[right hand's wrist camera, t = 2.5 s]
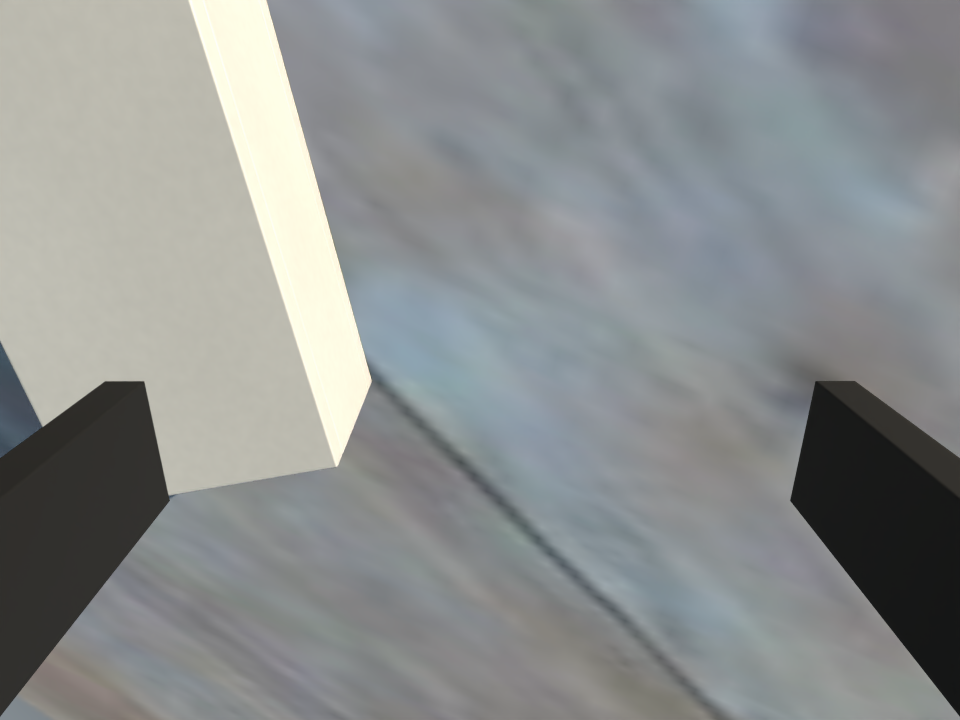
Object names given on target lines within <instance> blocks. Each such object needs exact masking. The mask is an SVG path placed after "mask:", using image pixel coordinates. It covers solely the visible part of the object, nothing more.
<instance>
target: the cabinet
mask: <svg viewBox="0 0 960 720" xmlns="http://www.w3.org/2000/svg"><path fill="white" fill-rule="evenodd" d="M0 343H1V345H2V347H3V349H4V351H5V353H6V355H7V357H8V359H9V361H10V363H11V365H12V367H13V369H14V371H15V373H16V375H17V377H18V379H19V381H20V383H21V385H22V387H23V389H24V391H25V393H26V395H27V397H28V399H29V401H30V403H31V405H32V407H33V409H34V411H35V413H36V415H37V417H38V419H39V421H40V423H41V425H42V427H43V426H45V425H46V424H48V423H49V422H50V421H52V420H53V419H54V418H56V417H57V416H58V415H60V414H61V413H63V412H64V411H65V410H67V409H68V408H69V407H71V406H72V405H73V404H75V403H76V402H77V401H79V400H80V399H82V398H83V397H84V396H86V395H87V394H88V393H90V392H91V391H92V390H94V389H95V388H97V387H98V386H99V385H101V384H102V383H103V382H105V381H144V382H145V387H146V391H147V396H148V401H149V406H150V410H151V415H152V420H153V424H154V429H155V434H156V439H157V443H158V448H159V453H160V457H161V462H162V467H163V472H164V476H165V481H166V486H167V490H168V495H169V496H170V495H176V494H182V493H188V492H194V491H200V490H206V489H211V488H217V487H223V486H229V485H235V484H241V483H247V482H253V481H258V480H264V479H270V478H276V477H282V476H288V475H294V474H300V473H306V472H311V471H317V470H323V469H329V468H335V467H337V466H338V464H339V461H340V459H341V456H342V453H343V452H344V449H345V447H346V444H347V442H348V439H349V437H350V434H351V432H352V429H353V427H354V424H355V422H356V419H357V417H358V414H359V412H360V409H361V407H362V404H363V402H364V399H365V397H366V394H367V392H368V389H369V387H370V384H371V382H372V381H371V377H370V374H369V370H368V366H367V363H366V359H365V356H364V352H363V348H362V345H361V341H360V337H359V334H358V330H357V327H356V323H355V319H354V316H353V312H352V309H351V305H350V301H349V298H348V294H347V291H346V287H345V283H344V280H343V276H342V272H341V269H340V265H339V262H338V258H337V254H336V251H335V247H334V244H333V240H332V236H331V233H330V229H329V226H328V222H327V218H326V215H325V211H324V207H323V204H322V200H321V197H320V193H319V189H318V186H317V182H316V179H315V175H314V171H313V168H312V164H311V161H310V157H309V153H308V150H307V146H306V142H305V139H304V135H303V132H302V128H301V124H300V121H299V117H298V114H297V110H296V106H295V103H294V99H293V96H292V92H291V88H290V85H289V81H288V77H287V74H286V70H285V67H284V63H283V59H282V56H281V52H280V49H279V45H278V41H277V38H276V34H275V31H274V27H273V23H272V20H271V16H270V12H269V9H268V5H267V2H266V0H0Z"/></svg>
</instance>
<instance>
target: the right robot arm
mask: <svg viewBox="0 0 960 720" xmlns="http://www.w3.org/2000/svg"><path fill="white" fill-rule="evenodd" d="M169 501H170V500H169V495H168V490H167V486H166V481H165V476H164V472H163V467H162V462H161V457H160V453H159V448H158V443H157V439H156V434H155V429H154V424H153V420H152V415H151V410H150V406H149V401H148V396H147V391H146V387H145V382H144V381H105V382H103V383H102V384H101V385H99V386H98V387H97V388H95V389H94V390H92V391H91V392H90V393H88V394H87V395H86V396H84V397H83V398H82V399H80V400H79V401H77V402H76V403H75V404H73V405H72V406H71V407H69V408H68V409H67V410H65V411H64V412H63V413H61V414H60V415H58V416H57V417H56V418H54V419H53V420H52V421H50V422H49V423H48V424H46V425H45V426H43V427H42V428H41V429H39V430H38V431H37V432H35V433H34V434H33V435H31V436H30V437H28V438H27V439H26V440H24V441H23V442H22V443H20V444H19V445H18V446H16V447H15V448H14V449H12V450H11V451H9V452H8V453H7V454H5V455H4V456H3V457H1V458H0V716H1V715H2V713H3V712H4V711H5V710H6V708H7V707H8V706H9V705H10V703H11V702H12V701H13V699H14V698H15V697H16V696H17V694H18V693H19V692H20V691H21V689H22V688H23V687H24V685H25V684H26V683H27V682H28V680H29V679H30V678H31V677H32V675H33V674H34V673H35V671H36V670H37V669H38V668H39V666H40V665H41V664H42V663H43V661H44V660H45V659H46V657H47V656H48V655H49V654H50V652H51V651H52V650H53V649H54V647H55V646H56V645H57V643H58V642H59V641H60V640H61V638H62V637H63V636H64V635H65V633H66V632H67V631H68V629H69V628H70V627H71V626H72V624H73V623H74V622H75V621H76V619H77V618H78V617H79V615H80V614H81V613H82V612H83V610H84V609H85V608H86V607H87V605H88V604H89V603H90V601H91V600H92V599H93V598H94V596H95V595H96V594H97V593H98V591H99V590H100V589H101V587H102V586H103V585H104V584H105V582H106V581H107V580H108V579H109V577H110V576H111V575H112V573H113V572H114V571H115V570H116V568H117V567H118V566H119V565H120V563H121V562H122V561H123V559H124V558H125V557H126V556H127V554H128V553H129V552H130V551H131V549H132V548H133V547H134V545H135V544H136V543H137V542H138V540H139V539H140V538H141V537H142V535H143V534H144V533H145V531H146V530H147V529H148V528H149V526H150V525H151V524H152V523H153V521H154V520H155V519H156V517H157V516H158V515H159V514H160V512H161V511H162V510H163V509H164V507H165V506H166V505H167V503H168V502H169ZM790 501H791V502H792V503H793V505H794V506H795V507H796V509H797V510H798V511H799V512H800V514H801V515H802V516H803V517H804V519H805V520H806V521H807V523H808V524H809V525H810V526H811V528H812V529H813V530H814V531H815V533H816V534H817V535H818V537H819V538H820V539H821V540H822V542H823V543H824V544H825V545H826V547H827V548H828V549H829V551H830V552H831V553H832V554H833V556H834V557H835V558H836V559H837V561H838V562H839V563H840V565H841V566H842V567H843V568H844V570H845V571H846V572H847V573H848V575H849V576H850V577H851V579H852V580H853V581H854V582H855V584H856V585H857V586H858V587H859V589H860V590H861V591H862V593H863V594H864V595H865V596H866V598H867V599H868V600H869V601H870V603H871V604H872V605H873V607H874V608H875V609H876V610H877V612H878V613H879V614H880V615H881V617H882V618H883V619H884V621H885V622H886V623H887V624H888V626H889V627H890V628H891V629H892V631H893V632H894V633H895V635H896V636H897V637H898V638H899V640H900V641H901V642H902V643H903V645H904V646H905V647H906V649H907V650H908V651H909V652H910V654H911V655H912V656H913V657H914V659H915V660H916V661H917V663H918V664H919V665H920V666H921V668H922V669H923V670H924V671H925V673H926V674H927V675H928V677H929V678H930V679H931V680H932V682H933V683H934V684H935V685H936V687H937V688H938V689H939V691H940V692H941V693H942V694H943V696H944V697H945V698H946V699H947V701H948V702H949V703H950V705H951V706H952V707H953V708H954V710H955V711H956V712H957V713H958V715H959V716H960V458H959V457H957V456H956V455H955V454H953V453H952V452H951V451H949V450H948V449H946V448H945V447H944V446H942V445H941V444H940V443H938V442H937V441H936V440H934V439H933V438H932V437H930V436H929V435H927V434H926V433H925V432H923V431H922V430H921V429H919V428H918V427H917V426H915V425H914V424H912V423H911V422H910V421H908V420H907V419H906V418H904V417H903V416H902V415H900V414H899V413H897V412H896V411H895V410H893V409H892V408H891V407H889V406H888V405H887V404H885V403H884V402H883V401H881V400H880V399H878V398H877V397H876V396H874V395H873V394H872V393H870V392H869V391H868V390H866V389H865V388H863V387H862V386H861V385H859V384H858V383H857V382H855V381H816V382H815V387H814V391H813V396H812V401H811V406H810V410H809V415H808V420H807V424H806V429H805V434H804V439H803V443H802V448H801V453H800V457H799V462H798V467H797V472H796V476H795V481H794V486H793V490H792V495H791V500H790Z"/></svg>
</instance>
